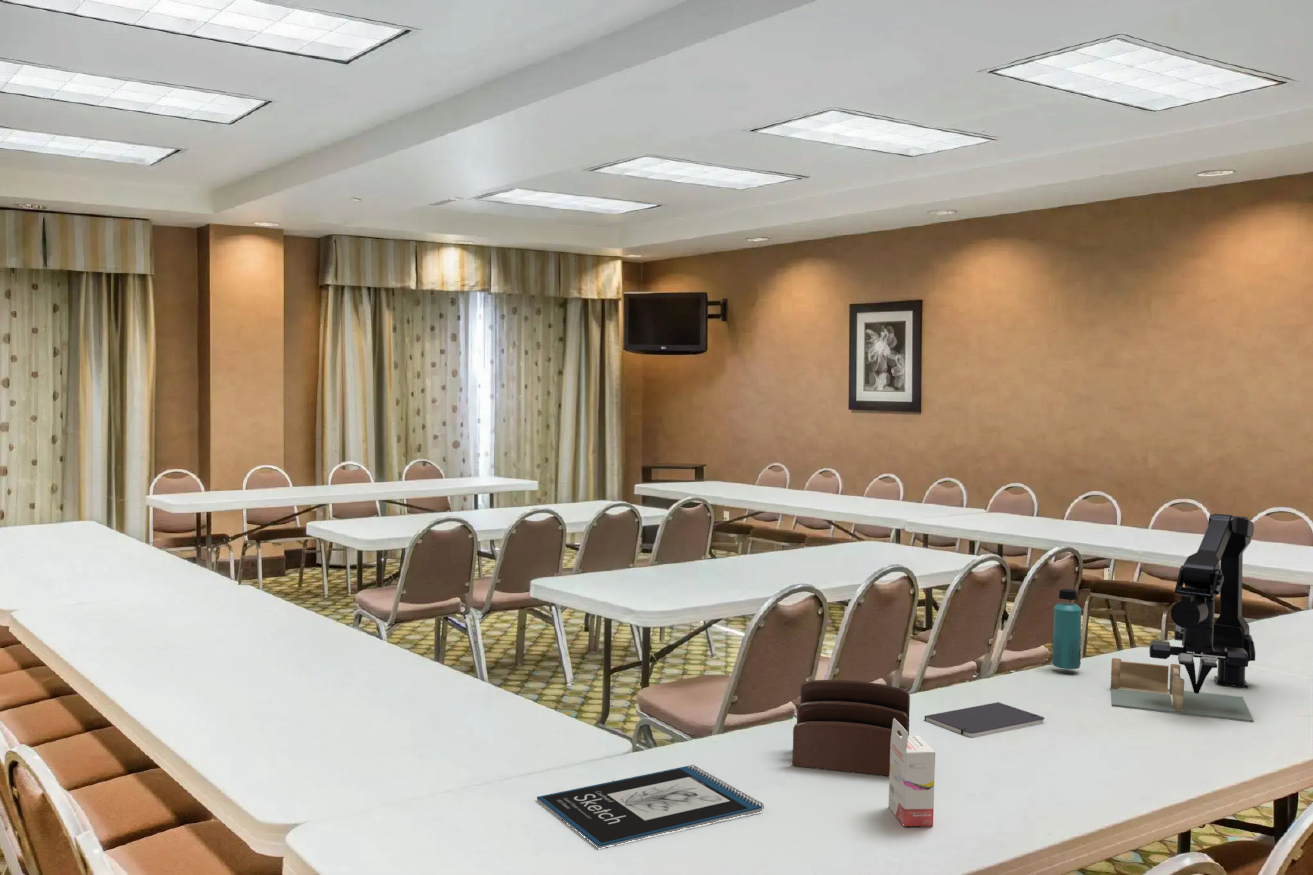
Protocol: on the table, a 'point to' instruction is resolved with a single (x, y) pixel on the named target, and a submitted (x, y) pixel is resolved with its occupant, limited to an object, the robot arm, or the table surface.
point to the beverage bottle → (1067, 632)
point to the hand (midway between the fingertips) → (1196, 693)
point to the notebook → (985, 719)
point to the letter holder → (848, 725)
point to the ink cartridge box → (911, 778)
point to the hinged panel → (1177, 690)
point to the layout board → (1184, 703)
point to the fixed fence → (1141, 676)
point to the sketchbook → (648, 805)
